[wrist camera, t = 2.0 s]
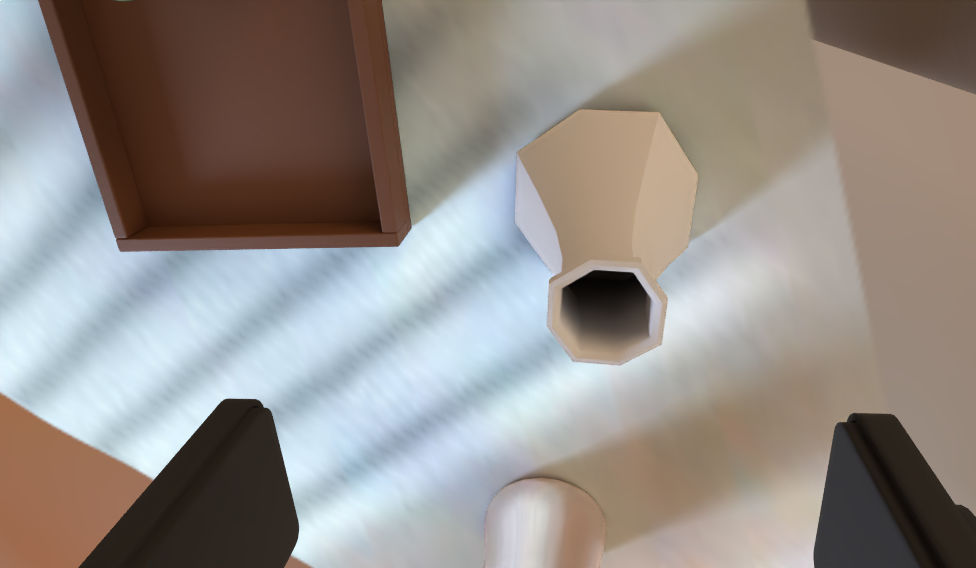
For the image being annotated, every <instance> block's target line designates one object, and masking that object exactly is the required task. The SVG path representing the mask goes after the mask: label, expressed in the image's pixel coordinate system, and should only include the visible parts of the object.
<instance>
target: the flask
mask: <svg viewBox="0 0 976 568" xmlns="http://www.w3.org/2000/svg"><path fill="white" fill-rule="evenodd" d="M697 183H698V174H697V173H696V171H695V170H694V168H693V166H692V165H691V163H690V161H689V160H688V158H687V157H686V155H685V153H684V152H683V150H682V149H681V147H680V145H679V144H678V142H677V141H676V139H675V137H674V136H673V134H672V132H671V131H670V129H669V128H668V126H667V124H666V123H665V121H664V120H663V118H662V116H661V115H660V113H659V112H638V111H612V110H587V109H580V110H578V111H577V112H575V113H574V114H572V115H571V116H569V117H568V118H566V119H565V120H563V121H562V122H560V123H559V124H558V125H556V126H555V127H553V128H552V129H550V130H549V131H547V132H546V133H544V134H543V135H541V136H540V137H538V138H537V139H536V140H534V141H533V142H531V143H530V144H528V145H527V146H525V147H524V148H522V149H521V150H519V151H518V152H517V166H516V199H515V223H516V225H517V226H518V228H519V229H520V230H521V232H522V233H523V234H524V236H525V237H526V239H527V240H528V241H529V243H530V244H531V245H532V247H533V248H534V250H535V251H536V252H537V254H538V255H539V256H540V258H541V259H542V261H543V262H544V263H545V265H546V266H547V267H548V269H549V270H550V272H551V273H552V274H553V277H552V278H551V279H550V280H549V294H548V312H547V328H548V329H549V330H550V332H551V333H552V334H553V336H554V337H555V338H556V340H557V341H558V342H559V344H560V345H561V346H562V348H563V349H564V350H565V352H566V353H567V354H568V356H569V357H570V358H571V360H572V361H573V362H584V363H596V364H608V365H619V366H620V365H622V364H624V363H626V362H628V361H630V360H632V359H634V358H636V357H638V356H640V355H642V354H644V353H646V352H648V351H650V350H652V349H653V348H655V347H657V346H659V345H661V344H662V338H663V331H664V324H665V316H666V309H667V302H668V300H667V296H666V295H665V293H664V292H663V290H662V289H661V287H660V286H659V284H658V283H657V281H656V279H657V278H658V277H659V276H660V275H661V274H662V272H663V271H664V270H665V269H666V268H667V267H668V266H669V264H671V263H672V262H673V261H674V260H675V259H676V258H677V257H678V256H679V255H681V254H682V253H683V252H684V251H685V250H686V249H687V247H688V244H689V237H690V230H691V223H692V217H693V210H694V203H695V196H696V189H697Z"/></svg>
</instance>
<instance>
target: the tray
mask: <svg viewBox="0 0 976 568" xmlns="http://www.w3.org/2000/svg"><path fill="white" fill-rule="evenodd" d="M38 1H39V4H40V7H41V11H42V14H43V17H44V20H45V23H46V26H47V29H48V32H49V35H50V38H51V41H52V44H53V47H54V51H55V54H56V57H57V60H58V63H59V66H60V69H61V72H62V75H63V78H64V81H65V84H66V88H67V91H68V94H69V97H70V100H71V103H72V106H73V109H74V112H75V115H76V118H77V121H78V124H79V128H80V131H81V134H82V137H83V140H84V143H85V146H86V149H87V152H88V155H89V158H90V161H91V165H92V168H93V171H94V174H95V177H96V180H97V183H98V186H99V189H100V192H101V195H102V198H103V201H104V205H105V208H106V211H107V214H108V217H109V220H110V223H111V226H112V229H113V232H114V235H115V238H117V239H116V242H117V245H118V248H119V251H120V252H130V251H184V250H238V249H291V248H345V247H398V246H399V245H400V244H401V242H402V241H403V239H404V238H405V237H406V235H407V234H408V232H409V231H410V230H411V220H410V212H409V205H408V197H407V190H406V182H405V174H404V167H403V159H402V151H401V144H400V136H399V129H398V121H397V113H396V106H395V98H394V91H393V83H392V75H391V68H390V60H389V52H388V45H387V37H386V30H385V22H384V14H383V7H382V0H136V1H115V0H38Z"/></svg>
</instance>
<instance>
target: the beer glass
mask: <svg viewBox="0 0 976 568" xmlns="http://www.w3.org/2000/svg"><path fill="white" fill-rule="evenodd" d="M606 534H607V528H606V522H605V518H604V515H603V513H602V511H601V509H600V508H599V506H598V505H597V503H596V502H595V501H594V500H593V499H592V498H591V497H590V496H589V495H588V494H587V493H585V492H584V491H582V490H581V489H579V488H577V487H576V486H574V485H571V484H569V483H566V482H563V481H560V480H556V479H550V478H529V479H524V480H520V481H517V482H514V483H511V484H509V485H507V486H506V487H504V488H503V489H501V490H500V491H499V492H498V493H497V494H496V495H495V496H494V497H493V498H492V500H491V502H490V503H489V505H488V507H487V510H486V514H485V522H484V535H485V560H484V567H483V568H600V564H601V560H602V556H603V552H604V548H605V542H606Z"/></svg>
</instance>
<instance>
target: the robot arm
mask: <svg viewBox="0 0 976 568" xmlns="http://www.w3.org/2000/svg"><path fill="white" fill-rule="evenodd" d="M298 534H299V523H298V518H297V514H296V510H295V506H294V502H293V498H292V494H291V489H290V485H289V481H288V477H287V473H286V469H285V465H284V461H283V457H282V453H281V448H280V444H279V440H278V436H277V432H276V428H275V424H274V420H273V416H272V413H271V411H270V410H269V409H268V408H264V407H263V405H262V403H261V402H260V401H259V400H256V399H225V400H223V401H222V402H221V403H220V404H219V405H218V406H217V407H216V408H215V410H214V411H213V412H212V413H211V414H210V415H209V417H208V418H207V419H206V420H205V421H204V422H203V424H202V425H201V426H200V427H199V428H198V429H197V430H196V432H195V433H194V434H193V435H192V436H191V437H190V439H189V440H188V441H187V442H186V443H185V444H184V446H183V447H182V448H181V449H180V450H179V451H178V453H177V454H176V455H175V456H174V457H173V458H172V460H171V461H170V462H169V463H168V464H167V465H166V466H165V468H164V469H163V470H162V471H161V472H160V473H159V475H158V476H157V477H156V478H155V479H154V480H153V482H152V483H151V484H150V485H149V486H148V487H147V489H146V490H145V491H144V492H143V493H142V494H141V496H140V497H139V498H138V499H137V500H136V501H135V503H134V504H133V505H132V506H131V507H130V508H129V510H128V511H127V512H126V513H125V514H124V515H123V517H122V518H121V519H120V520H119V521H118V522H117V523H116V525H115V526H114V527H113V528H112V529H111V530H110V532H109V533H108V534H107V535H106V536H105V537H104V539H103V540H102V541H101V542H100V543H99V544H98V545H97V547H96V548H95V549H94V550H93V551H92V552H91V554H90V555H89V556H88V557H87V558H86V560H85V561H84V562H83V563H82V564H81V565H80V567H79V568H284V567H285V565H286V563H287V561H288V559H289V557H290V555H291V553H292V551H293V549H294V547H295V545H296V543H297V539H298ZM814 567H815V568H976V517H975V516H974V515H973V513H972V512H971V511H970V510H969V509H968V508H966V507H964V506H962V505H955V503H954V502H953V501H952V499H951V498H950V496H949V495H948V493H947V492H946V490H945V489H944V487H943V486H942V484H941V483H940V481H939V480H938V478H937V477H936V475H935V474H934V472H933V471H932V469H931V468H930V466H929V465H928V463H927V462H926V460H925V459H924V457H923V456H922V454H921V453H920V451H919V450H918V448H917V447H916V446H915V444H914V442H913V441H912V440H911V438H910V437H909V435H908V434H907V432H906V431H905V429H904V428H903V426H902V425H901V423H900V422H899V420H898V419H897V418H896V417H895V416H894V415H892V414H867V413H853V414H851V415H850V416H849V418H848V420H847V422H839V423H837V425H836V426H835V430H834V436H833V441H832V447H831V453H830V459H829V465H828V471H827V476H826V482H825V488H824V494H823V500H822V506H821V512H820V517H819V523H818V529H817V535H816V541H815V547H814Z"/></svg>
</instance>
